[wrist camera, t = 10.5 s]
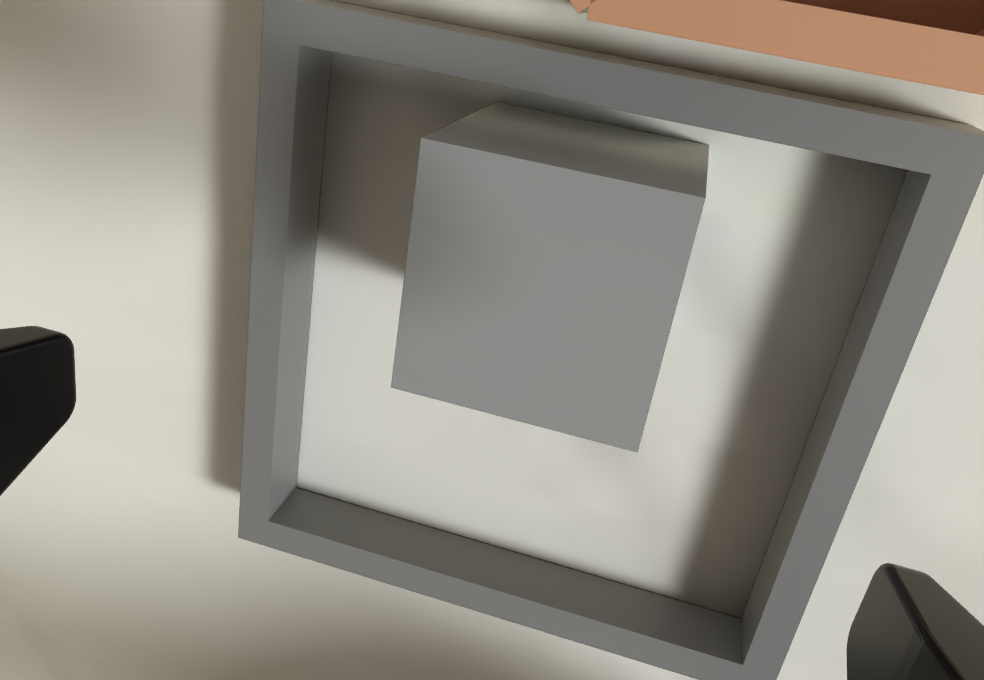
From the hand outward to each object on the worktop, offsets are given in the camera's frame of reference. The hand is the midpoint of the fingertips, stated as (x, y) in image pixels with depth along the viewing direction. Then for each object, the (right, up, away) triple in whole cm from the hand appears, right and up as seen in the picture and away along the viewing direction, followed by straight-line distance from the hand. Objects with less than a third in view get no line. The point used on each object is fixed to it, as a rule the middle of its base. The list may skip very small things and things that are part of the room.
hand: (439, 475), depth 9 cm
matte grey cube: (+2, +4, +9) cm, 10 cm away
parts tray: (+2, +1, +11) cm, 11 cm away
